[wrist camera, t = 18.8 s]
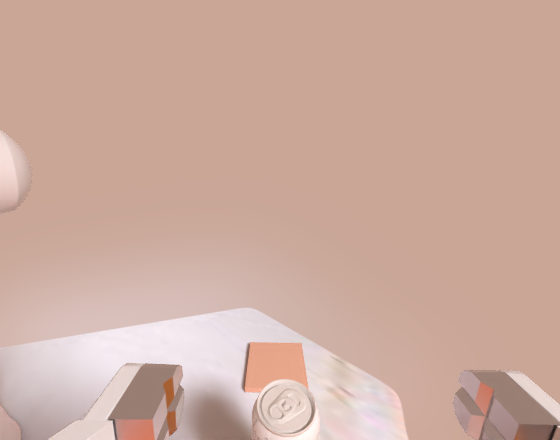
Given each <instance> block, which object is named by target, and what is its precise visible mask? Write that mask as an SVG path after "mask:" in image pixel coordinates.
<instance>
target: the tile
mask: <svg viewBox="0 0 560 440" xmlns="http://www.w3.org/2000/svg"><path fill="white" fill-rule="evenodd" d="M279 379H290V380H294V381H297V382H299V383H301V384H303V385H304V386H305V387H307V388H308V383H307V377H306V370H305V363H304V357H303V350H302V343H254V342H250V349H249V358H248V366H247V374H246V382H245V392H261V391H262V389H263V388H264V387H265V386H266V385H267V384H269V383H271V382H273V381H275V380H279Z"/></svg>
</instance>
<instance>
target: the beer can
mask: <svg viewBox="0 0 560 440" xmlns="http://www.w3.org/2000/svg"><path fill="white" fill-rule="evenodd" d="M319 424H320V416H319V411H318V408H317V405H316V403H315V400H314V397H313V395H312V393H311V392H310V391H309V390H308V388H307V387H305V386H304V385H303V384H301V383H299V382H297V381H294V380H290V379H279V380H275V381H273V382H271V383H269V384H267V385H266V386H265V387H264V388H263V389H262V391H261V392H260V394H259V396H258V398H257V400H256V402H255V404H254V406H253V410H252V440H318V434H319Z"/></svg>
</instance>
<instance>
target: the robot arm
mask: <svg viewBox="0 0 560 440" xmlns="http://www.w3.org/2000/svg"><path fill="white" fill-rule="evenodd" d="M31 183H32V171H31V166H30V163H29V161H28V158H27V157H26V155H25V153H24V152H23V150H22V149H21V148H20V147H19V146H18V144H17V143H16V142H15V141H14V140H13V139H12V138H11V137H10V136H8V135H7V134H6V133H5V132H3V131H2V130H0V214H2V213H6V212H10V211H13V210H15V209H16V208H17V207H19V206H20V205H21V204H22V202H23V201H24V200H25V198H26V197H27V195H28V193H29V191H30V188H31ZM182 377H183V372H182V366H180V365H167V364H135V363H126V364H125V365H123V366H122V367H121V368H120V369H119V371H118V372H117V374H116V375H115V376H114V378H113V379H112V380H111V382H110V383H109V384H108V386H107V387H106V389H105V390H104V391H103V393H102V394H101V395H100V397H99V398H98V399H97V401H96V402H95V404H94V405H93V406H92V408H91V409H90V410H89V412H88V413H87V414H86V416H85V417H84V419H83V420H75V421H74V422H72V423H71V424H70V425H68V426H67V427H65V428H64V429H62V430H61V431H59V432H58V433H56V434H55V435H53V436H52V437H50V438H49V439H47V440H169V437H170V436H171V435H172V434H173V433H174V432H175V431H176V430H177V427H178V424H179V421H180V419H181V414H182V409H183V404H184V389H183V388H182V387H181V386H180V382H181V380H182ZM459 383H460V385H461V387H462V388H461V389H459V390H458V391H457V392H456V393H455V397H454V402H453V404H454V409H455V414H456V416H457V419H458V421H459V423H460V425H461V426H462V428H463V429H464V431H465V432H466V433H467V434H468V435H469V436H471V437H472V438H473V439H475V440H560V405H559V404H558V403H557V402H556V401H554V400H553V399H552V398H551V397H550V396H549V395H547V394H546V393H545V392H544V391H543V390H542V389H540V388H539V387H538V386H537V385H536V384H535V383H534V382H533V381H531V380H530V379H529V378H528V377H527V376H526V375H524V374H523V373H521V372H519V371H516V370H511V371H510V370H499V371H496V370H464V371H463V372H462V373H461V374H460V377H459ZM0 440H21V428H20V426H19V424H18V423H17V422H16V421H15V420H13V419H12V418H11V417H10V416H9V415H8V414H7V413H6V412H5V410H4V409H3V408H2V406H1V405H0Z"/></svg>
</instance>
